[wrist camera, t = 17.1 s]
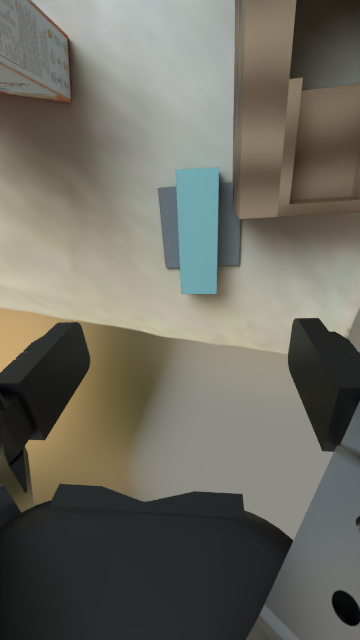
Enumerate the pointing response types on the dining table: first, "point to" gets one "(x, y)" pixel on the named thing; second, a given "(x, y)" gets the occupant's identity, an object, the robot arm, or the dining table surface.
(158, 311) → the dining table surface
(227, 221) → the grey mat
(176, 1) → the dining table surface
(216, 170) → the teal block
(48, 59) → the cracker box
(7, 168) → the dining table surface
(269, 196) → the board
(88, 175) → the dining table surface
